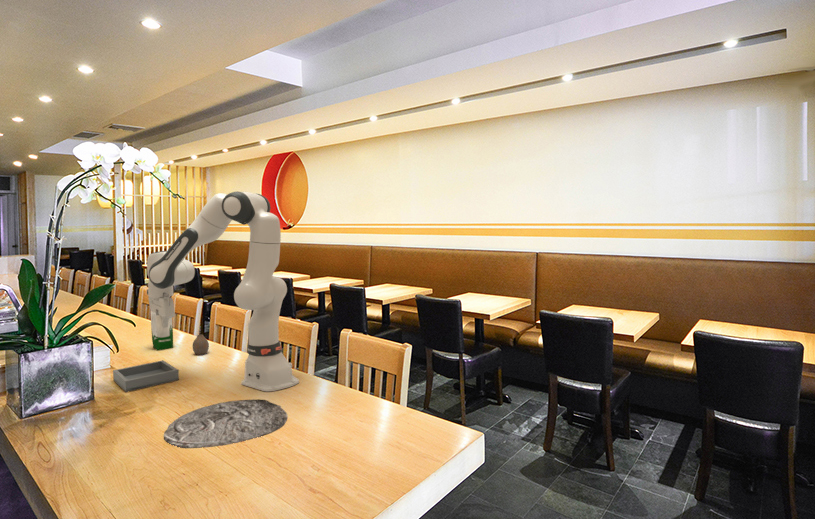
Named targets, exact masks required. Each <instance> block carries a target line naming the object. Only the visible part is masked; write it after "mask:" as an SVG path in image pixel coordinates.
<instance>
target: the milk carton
mask: <svg viewBox="0 0 815 519" xmlns="http://www.w3.org/2000/svg"><path fill="white" fill-rule="evenodd" d="M150 327H151V341H152V346H153V347H152V348H153V349H154V350H156V351H163V350H167V349H168V350H169V349H173V348H174V332H173V331H174V329H173V328H174V326H173V317H172V318H169V328H170V336H168V337H157V323H156V314H155V313H153V312H151V310H150Z"/></svg>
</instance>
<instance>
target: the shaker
mask: <svg viewBox="0 0 815 519" xmlns="http://www.w3.org/2000/svg"><path fill="white" fill-rule="evenodd" d="M156 323H157V337H168V336H170V328H169V321H168V327H165V328H164V327H162V323H163V319H162V316H159V314H158V310H157V309H156Z"/></svg>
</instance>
